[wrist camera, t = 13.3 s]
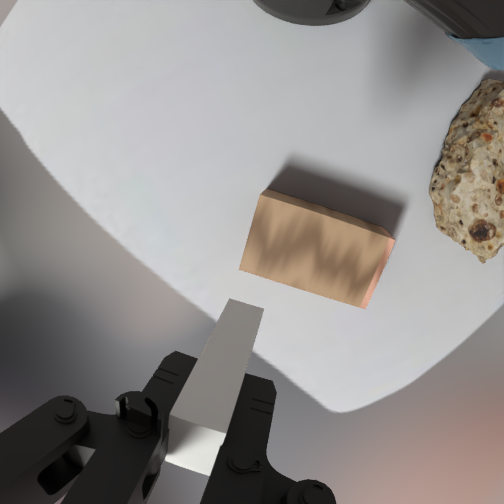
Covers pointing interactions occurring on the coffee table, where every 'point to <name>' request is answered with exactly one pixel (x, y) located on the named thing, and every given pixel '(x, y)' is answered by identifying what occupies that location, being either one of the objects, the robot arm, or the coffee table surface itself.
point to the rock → (473, 174)
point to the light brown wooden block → (315, 249)
